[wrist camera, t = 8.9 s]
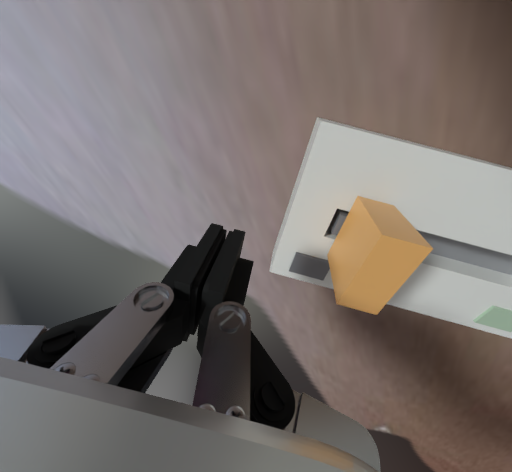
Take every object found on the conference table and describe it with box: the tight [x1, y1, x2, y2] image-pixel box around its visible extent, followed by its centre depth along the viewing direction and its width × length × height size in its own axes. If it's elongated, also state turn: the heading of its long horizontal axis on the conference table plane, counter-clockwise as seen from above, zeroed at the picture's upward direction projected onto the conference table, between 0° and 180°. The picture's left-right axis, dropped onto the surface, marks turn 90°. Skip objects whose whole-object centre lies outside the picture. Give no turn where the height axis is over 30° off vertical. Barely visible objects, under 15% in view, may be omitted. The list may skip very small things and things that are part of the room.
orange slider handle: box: [327, 196, 433, 315], centre depth 14 cm, size 3×5×7 cm, turn 167°
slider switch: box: [270, 117, 512, 338], centre depth 17 cm, size 22×12×3 cm, turn 77°
